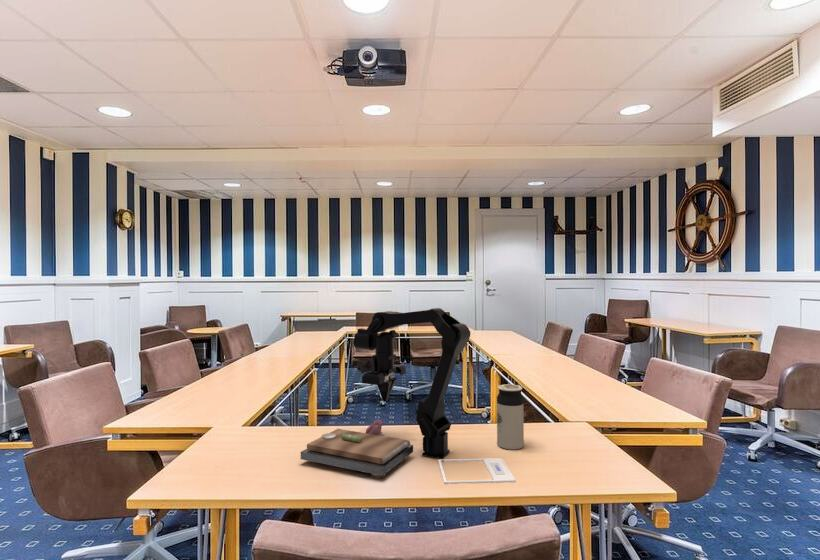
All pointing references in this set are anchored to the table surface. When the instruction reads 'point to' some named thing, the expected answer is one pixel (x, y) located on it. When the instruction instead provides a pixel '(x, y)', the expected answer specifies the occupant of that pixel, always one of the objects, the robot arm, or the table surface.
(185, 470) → the table surface
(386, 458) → the plate
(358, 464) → the dark grey flat box
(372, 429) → the purple lumpy shape
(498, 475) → the photo frame
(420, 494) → the table surface
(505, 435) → the travel mug
